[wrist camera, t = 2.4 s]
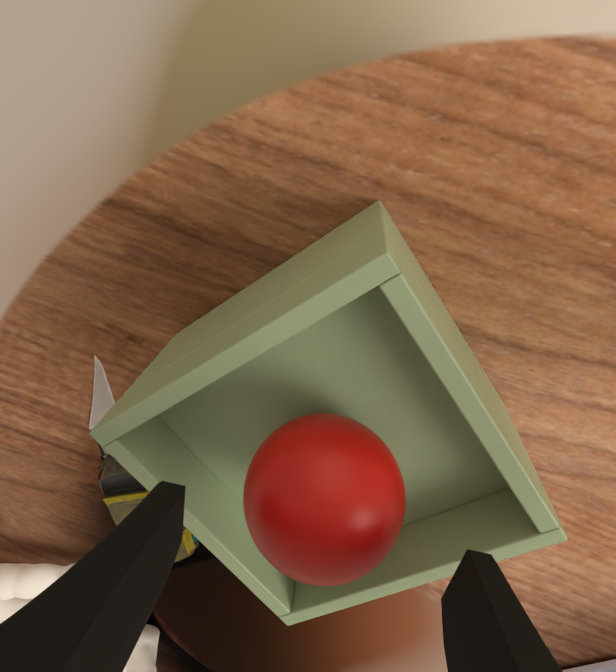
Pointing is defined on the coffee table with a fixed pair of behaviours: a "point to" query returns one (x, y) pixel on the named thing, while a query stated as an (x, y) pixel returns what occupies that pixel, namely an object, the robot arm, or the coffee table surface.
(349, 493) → the ball
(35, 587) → the toy creature
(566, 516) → the coffee table surface
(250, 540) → the open box
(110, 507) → the race car
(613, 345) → the coffee table surface
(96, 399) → the knife
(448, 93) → the coffee table surface
